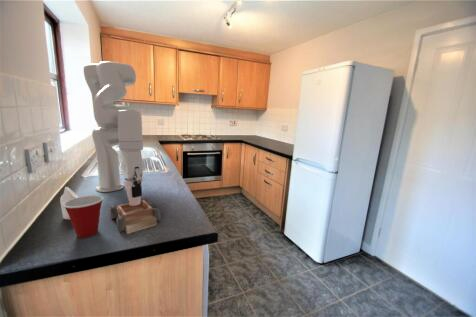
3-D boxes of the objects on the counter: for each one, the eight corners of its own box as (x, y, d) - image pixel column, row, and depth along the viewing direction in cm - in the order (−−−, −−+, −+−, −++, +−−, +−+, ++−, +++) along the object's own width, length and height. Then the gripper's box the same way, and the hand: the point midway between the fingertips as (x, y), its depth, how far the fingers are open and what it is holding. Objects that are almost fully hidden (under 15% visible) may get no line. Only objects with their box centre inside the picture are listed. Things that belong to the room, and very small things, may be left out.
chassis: (109, 215, 85) (108, 202, 84) (145, 206, 94) (144, 194, 93) (121, 235, 72) (120, 220, 71) (161, 223, 81) (161, 210, 80)
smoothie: (125, 208, 77) (122, 170, 74) (125, 201, 82) (122, 165, 79) (144, 205, 79) (143, 168, 77) (143, 199, 85) (141, 164, 82)
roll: (79, 186, 81) (60, 190, 76) (83, 216, 83) (64, 221, 79) (74, 182, 84) (56, 186, 80) (78, 211, 87) (60, 216, 83)
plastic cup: (103, 221, 80) (100, 191, 78) (109, 234, 72) (106, 201, 70) (65, 231, 73) (61, 197, 71) (68, 246, 65) (63, 209, 63)
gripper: (113, 142, 80) (116, 189, 84) (126, 150, 67) (130, 204, 71) (134, 141, 85) (137, 185, 89) (151, 148, 72) (153, 199, 76)
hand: (134, 193), depth 80 cm, fingers closed on smoothie, 6 cm apart
